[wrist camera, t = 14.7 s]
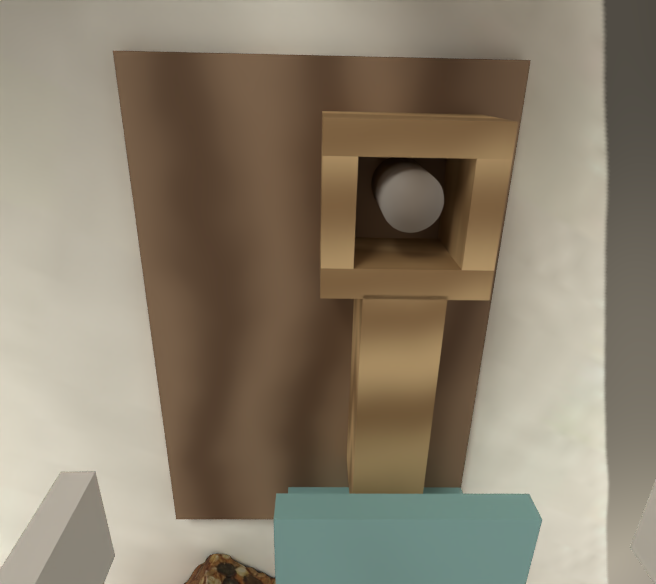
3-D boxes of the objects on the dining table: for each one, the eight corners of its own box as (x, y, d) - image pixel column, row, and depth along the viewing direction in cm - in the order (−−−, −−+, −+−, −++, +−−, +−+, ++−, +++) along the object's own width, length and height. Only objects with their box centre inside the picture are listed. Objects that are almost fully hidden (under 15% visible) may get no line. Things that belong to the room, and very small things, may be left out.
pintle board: (179, 508, 36) (157, 577, 31) (120, 52, 24) (68, 43, 19) (452, 508, 37) (473, 576, 31) (522, 61, 25) (575, 56, 20)
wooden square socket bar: (435, 459, 33) (453, 519, 29) (317, 458, 33) (316, 519, 29) (481, 114, 25) (518, 121, 20) (322, 111, 25) (323, 117, 20)
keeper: (289, 497, 36) (277, 661, 26) (287, 380, 32) (273, 519, 22) (453, 498, 36) (506, 660, 26) (471, 382, 32) (542, 519, 22)
